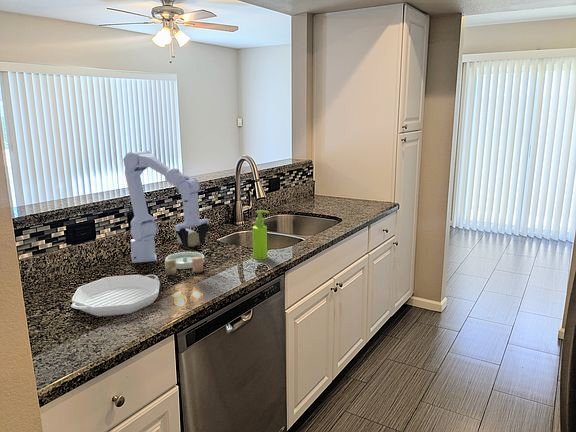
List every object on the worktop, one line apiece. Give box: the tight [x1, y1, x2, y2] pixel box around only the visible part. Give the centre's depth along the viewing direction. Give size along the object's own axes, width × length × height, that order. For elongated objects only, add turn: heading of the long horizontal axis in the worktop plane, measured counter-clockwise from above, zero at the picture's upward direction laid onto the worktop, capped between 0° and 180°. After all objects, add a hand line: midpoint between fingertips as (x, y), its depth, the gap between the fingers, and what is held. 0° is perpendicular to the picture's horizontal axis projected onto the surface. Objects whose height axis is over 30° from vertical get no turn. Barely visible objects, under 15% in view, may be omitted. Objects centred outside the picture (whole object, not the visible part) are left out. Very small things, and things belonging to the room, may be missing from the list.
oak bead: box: [164, 259, 177, 276], centre depth 168 cm, size 4×4×5 cm
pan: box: [70, 274, 161, 318], centre depth 143 cm, size 31×25×4 cm
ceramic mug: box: [176, 228, 201, 248], centre depth 205 cm, size 11×8×8 cm
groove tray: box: [165, 251, 205, 270], centre depth 181 cm, size 15×15×2 cm
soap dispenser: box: [252, 209, 270, 260], centre depth 185 cm, size 6×7×20 cm
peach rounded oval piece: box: [191, 257, 204, 273], centre depth 171 cm, size 4×4×5 cm
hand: (194, 245), depth 173 cm, fingers open, 7 cm apart
